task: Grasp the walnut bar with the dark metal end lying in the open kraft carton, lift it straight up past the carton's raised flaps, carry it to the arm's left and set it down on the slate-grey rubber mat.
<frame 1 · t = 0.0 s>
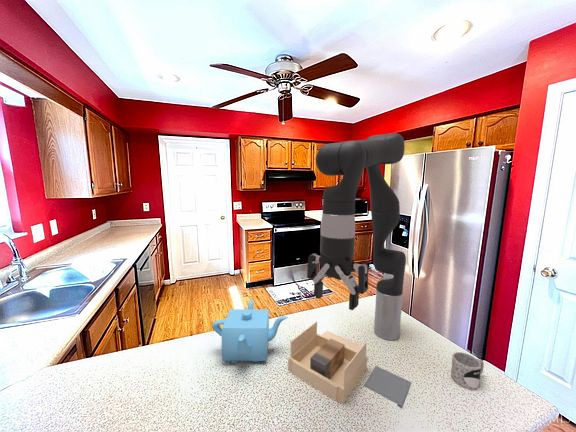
hand: (334, 302, 55), 29 cm above the worktop, fingers open, 8 cm apart
teakettle: (250, 354, 81), on the worktop
mug: (468, 380, 71), on the worktop
bar: (327, 369, 73), resting on carton
carton: (327, 370, 73), on the worktop
mat: (387, 385, 68), on the worktop
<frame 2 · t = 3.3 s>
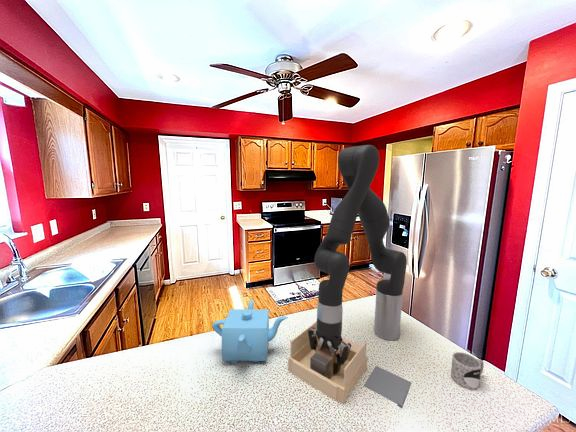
hand: (327, 367, 73), 1 cm above the worktop, fingers closed on bar, 5 cm apart
bar: (327, 369, 73), resting on carton, touching gripper
everything else where it was.
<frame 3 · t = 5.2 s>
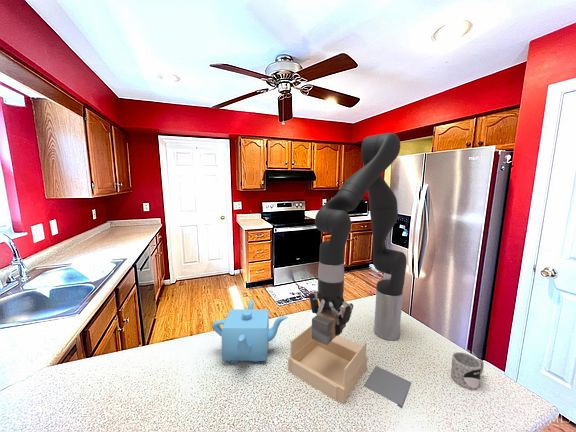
hand: (329, 330, 72), 13 cm above the worktop, fingers closed on bar, 5 cm apart
bar: (329, 332, 72), point 13 cm above the worktop, touching gripper
everything else where it was.
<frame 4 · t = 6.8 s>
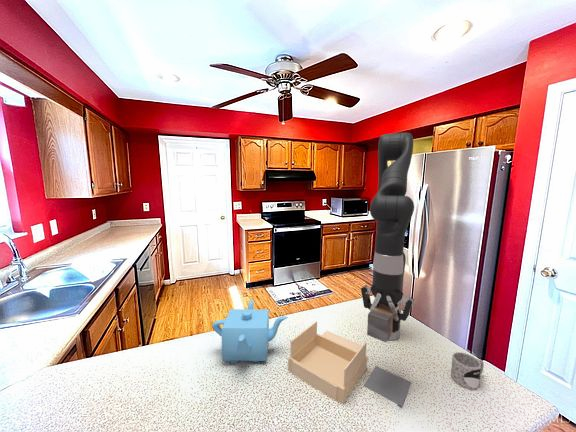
hand: (384, 327, 67), 17 cm above the worktop, fingers closed on bar, 5 cm apart
bar: (384, 328, 67), point 17 cm above the worktop, touching gripper
everything else where it was.
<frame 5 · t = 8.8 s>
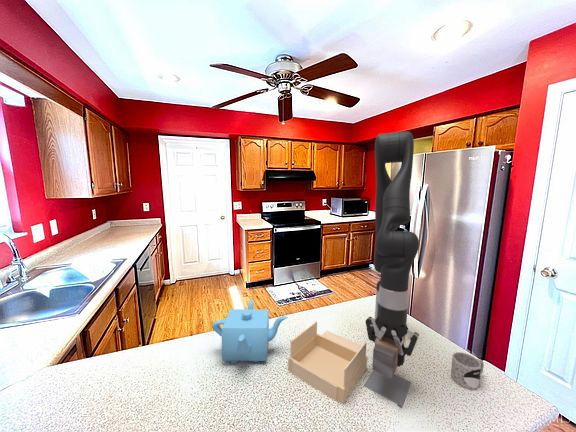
hand: (388, 360, 67), 8 cm above the worktop, fingers closed on bar, 5 cm apart
bar: (388, 361, 67), point 7 cm above the worktop, touching gripper
everything else where it was.
when the fingers open (2 cm above the worktop, at t = 10.3 s): bar drops 1 cm, resting on mat.
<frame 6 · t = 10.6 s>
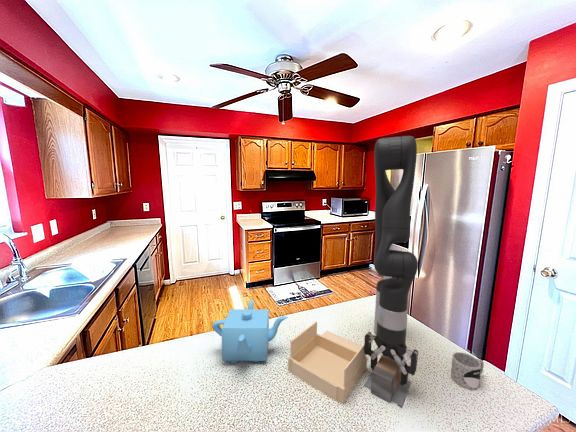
hand: (388, 376, 68), 3 cm above the worktop, fingers open, 7 cm apart
bar: (386, 383, 68), point 1 cm above the worktop, touching mat
everything else where it was.
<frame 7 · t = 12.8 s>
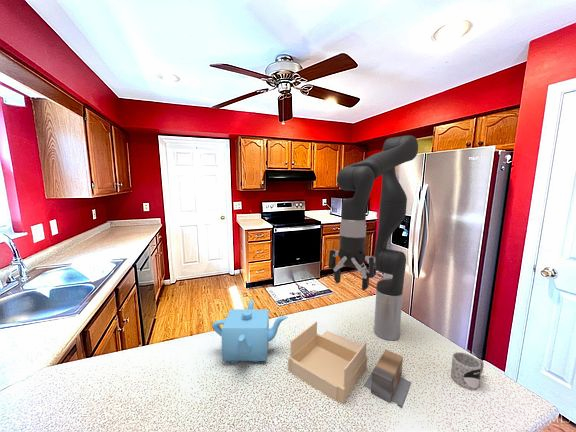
hand: (350, 285, 74), 26 cm above the worktop, fingers open, 8 cm apart
nothing on the worktop moved.
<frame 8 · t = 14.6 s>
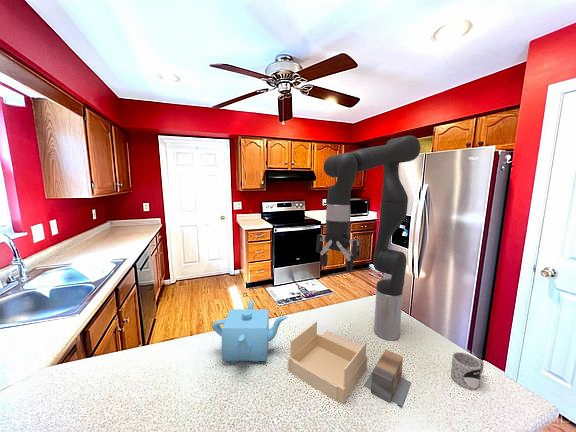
hand: (336, 268, 77), 30 cm above the worktop, fingers open, 8 cm apart
nothing on the worktop moved.
at the end: bar inside the target area on the mat (0.2 cm from its centre), point 0.6 cm above the mat's base; bar tilted 0°; the gripper is holding nothing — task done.
